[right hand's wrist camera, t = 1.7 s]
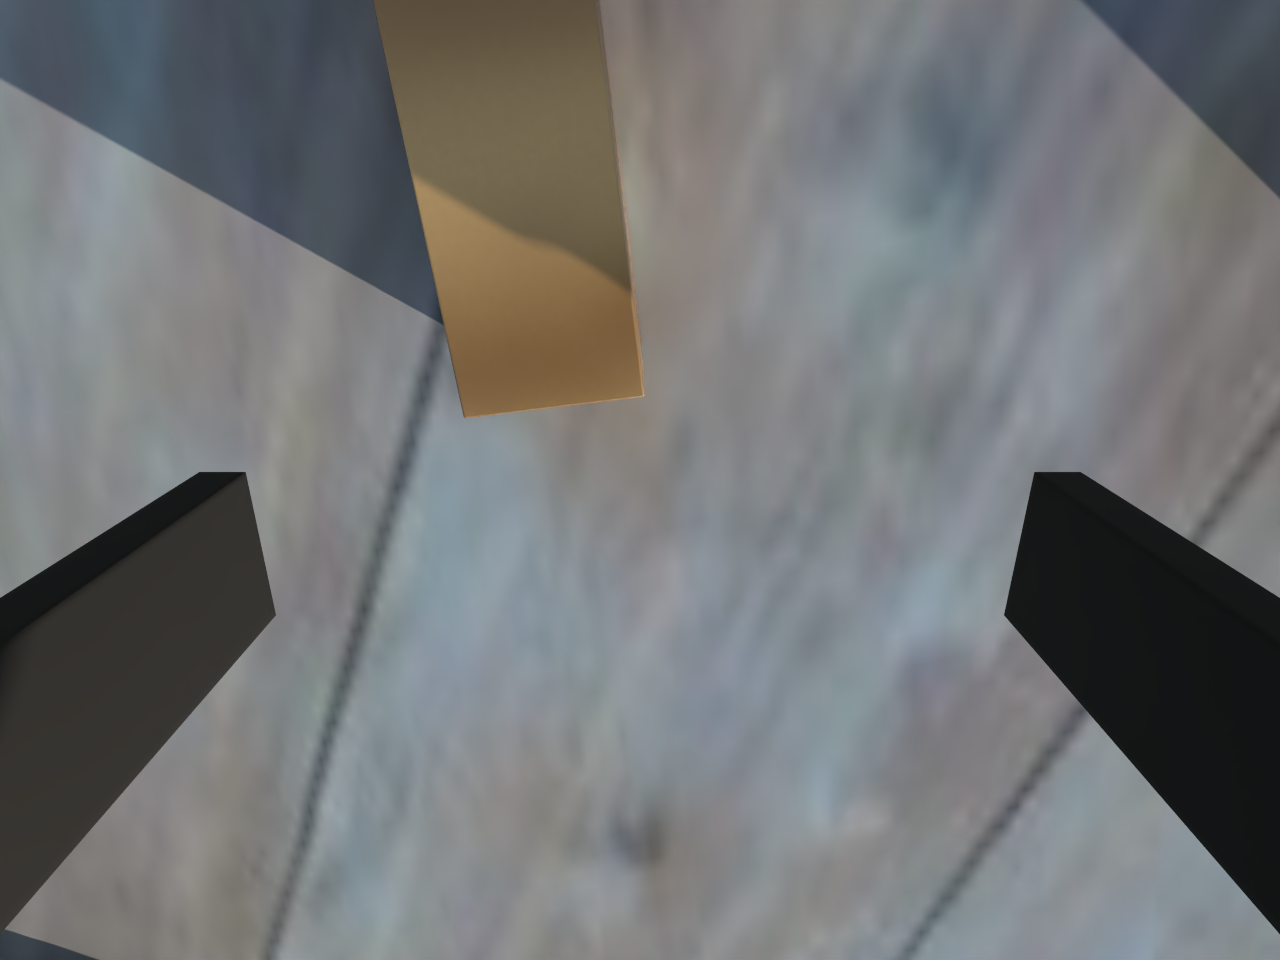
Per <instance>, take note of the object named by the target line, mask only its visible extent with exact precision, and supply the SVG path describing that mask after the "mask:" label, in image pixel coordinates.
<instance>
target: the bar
mask: <svg viewBox="0 0 1280 960" xmlns="http://www.w3.org/2000/svg"><path fill="white" fill-rule="evenodd" d="M373 3H374V8H375V13H376V17H377V22H378V26H379V31H380V35H381V40H382V45H383V49H384V54H385V58H386V63H387V67H388V72H389V77H390V81H391V86H392V90H393V95H394V100H395V104H396V109H397V113H398V118H399V122H400V127H401V132H402V136H403V141H404V145H405V150H406V154H407V159H408V164H409V168H410V173H411V177H412V182H413V187H414V191H415V196H416V200H417V205H418V209H419V214H420V219H421V223H422V228H423V232H424V237H425V241H426V246H427V251H428V255H429V260H430V264H431V269H432V273H433V278H434V283H435V287H436V292H437V296H438V301H439V306H440V310H441V315H442V319H443V324H444V328H445V333H446V338H447V342H448V347H449V351H450V356H451V360H452V365H453V370H454V374H455V379H456V383H457V388H458V393H459V397H460V402H461V406H462V411H463V415H464V418H472V417H481V416H489V415H497V414H505V413H513V412H522V411H530V410H538V409H546V408H554V407H563V406H571V405H579V404H587V403H595V402H604V401H612V400H620V399H628V398H636V397H643V396H644V378H643V359H642V342H641V334H640V326H639V318H638V310H637V301H636V293H635V285H634V277H633V269H632V261H631V252H630V244H629V236H628V228H627V220H626V212H625V203H624V195H623V187H622V179H621V171H620V163H619V154H618V146H617V138H616V130H615V122H614V113H613V105H612V97H611V89H610V81H609V73H608V64H607V56H606V48H605V40H604V32H603V24H602V15H601V7H600V0H373Z"/></svg>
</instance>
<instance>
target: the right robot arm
mask: <svg viewBox="0 0 1280 960" xmlns="http://www.w3.org/2000/svg"><path fill="white" fill-rule="evenodd" d="M275 616H276V614H275V609H274V604H273V599H272V595H271V590H270V585H269V581H268V576H267V571H266V566H265V562H264V557H263V552H262V548H261V543H260V538H259V533H258V529H257V524H256V519H255V515H254V510H253V505H252V500H251V496H250V491H249V486H248V482H247V477H246V472H199V473H197V474H196V475H194V476H193V477H191V478H189V479H188V480H186V481H185V482H183V483H181V484H180V485H178V486H177V487H175V488H174V489H172V490H170V491H169V492H167V493H166V494H164V495H162V496H161V497H159V498H158V499H156V500H155V501H153V502H151V503H150V504H148V505H147V506H145V507H143V508H142V509H140V510H139V511H137V512H136V513H134V514H132V515H131V516H129V517H128V518H126V519H124V520H123V521H121V522H120V523H118V524H117V525H115V526H113V527H112V528H110V529H109V530H107V531H105V532H104V533H102V534H101V535H99V536H98V537H96V538H94V539H93V540H91V541H90V542H88V543H87V544H85V545H83V546H82V547H80V548H79V549H77V550H75V551H74V552H72V553H71V554H69V555H68V556H66V557H64V558H63V559H61V560H60V561H58V562H56V563H55V564H53V565H52V566H50V567H49V568H47V569H45V570H44V571H42V572H41V573H39V574H37V575H36V576H34V577H33V578H31V579H30V580H28V581H26V582H25V583H23V584H22V585H20V586H18V587H17V588H15V589H14V590H12V591H11V592H9V593H7V594H6V595H4V596H3V597H1V598H0V934H1V933H2V931H3V930H4V929H5V928H6V927H7V926H8V924H9V923H10V922H11V921H12V920H13V919H14V917H15V916H16V915H17V914H18V913H19V912H20V911H21V909H22V908H23V907H24V906H25V905H26V904H27V902H28V901H29V900H30V899H31V898H32V897H33V895H34V894H35V893H36V892H37V891H38V890H39V889H40V887H41V886H42V885H43V884H44V883H45V882H46V880H47V879H48V878H49V877H50V876H51V875H52V874H53V872H54V871H55V870H56V869H57V868H58V867H59V865H60V864H61V863H62V862H63V861H64V860H65V858H66V857H67V856H68V855H69V854H70V853H71V852H72V850H73V849H74V848H75V847H76V846H77V845H78V843H79V842H80V841H81V840H82V839H83V838H84V836H85V835H86V834H87V833H88V832H89V831H90V830H91V828H92V827H93V826H94V825H95V824H96V823H97V821H98V820H99V819H100V818H101V817H102V816H103V815H104V813H105V812H106V811H107V810H108V809H109V808H110V806H111V805H112V804H113V803H114V802H115V801H116V799H117V798H118V797H119V796H120V795H121V794H122V793H123V791H124V790H125V789H126V788H127V787H128V786H129V784H130V783H131V782H132V781H133V780H134V779H135V777H136V776H137V775H138V774H139V773H140V772H141V771H142V769H143V768H144V767H145V766H146V765H147V764H148V762H149V761H150V760H151V759H152V758H153V757H154V755H155V754H156V753H157V752H158V751H159V750H160V749H161V747H162V746H163V745H164V744H165V743H166V742H167V740H168V739H169V738H170V737H171V736H172V735H173V734H174V732H175V731H176V730H177V729H178V728H179V727H180V725H181V724H182V723H183V722H184V721H185V720H186V718H187V717H188V716H189V715H190V714H191V713H192V712H193V710H194V709H195V708H196V707H197V706H198V705H199V703H200V702H201V701H202V700H203V699H204V698H205V696H206V695H207V694H208V693H209V692H210V691H211V690H212V688H213V687H214V686H215V685H216V684H217V683H218V681H219V680H220V679H221V678H222V677H223V676H224V675H225V673H226V672H227V671H228V670H229V669H230V668H231V666H232V665H233V664H234V663H235V662H236V661H237V659H238V658H239V657H240V656H241V655H242V654H243V653H244V651H245V650H246V649H247V648H248V647H249V646H250V644H251V643H252V642H253V641H254V640H255V639H256V637H257V636H258V635H259V634H260V633H261V632H262V631H263V629H264V628H265V627H266V626H267V625H268V624H269V622H270V621H271V620H272V619H273V618H274V617H275ZM1004 616H1005V617H1006V618H1007V619H1008V620H1009V621H1010V622H1011V624H1012V625H1013V626H1014V627H1015V628H1016V629H1017V631H1018V632H1019V633H1020V634H1021V635H1022V636H1023V637H1024V639H1025V640H1026V641H1027V642H1028V643H1029V644H1030V646H1031V647H1032V648H1033V649H1034V650H1035V651H1036V653H1037V654H1038V655H1039V656H1040V657H1041V658H1042V659H1043V661H1044V662H1045V663H1046V664H1047V665H1048V666H1049V668H1050V669H1051V670H1052V671H1053V672H1054V673H1055V675H1056V676H1057V677H1058V678H1059V679H1060V680H1061V681H1062V683H1063V684H1064V685H1065V686H1066V687H1067V688H1068V690H1069V691H1070V692H1071V693H1072V694H1073V695H1074V696H1075V698H1076V699H1077V700H1078V701H1079V702H1080V703H1081V705H1082V706H1083V707H1084V708H1085V709H1086V710H1087V712H1088V713H1089V714H1090V715H1091V716H1092V717H1093V718H1094V720H1095V721H1096V722H1097V723H1098V724H1099V725H1100V727H1101V728H1102V729H1103V730H1104V731H1105V732H1106V734H1107V735H1108V736H1109V737H1110V738H1111V739H1112V740H1113V742H1114V743H1115V744H1116V745H1117V746H1118V747H1119V749H1120V750H1121V751H1122V752H1123V753H1124V754H1125V755H1126V757H1127V758H1128V759H1129V760H1130V761H1131V762H1132V764H1133V765H1134V766H1135V767H1136V768H1137V769H1138V771H1139V772H1140V773H1141V774H1142V775H1143V776H1144V777H1145V779H1146V780H1147V781H1148V782H1149V783H1150V784H1151V786H1152V787H1153V788H1154V789H1155V790H1156V791H1157V793H1158V794H1159V795H1160V796H1161V797H1162V798H1163V799H1164V801H1165V802H1166V803H1167V804H1168V805H1169V806H1170V808H1171V809H1172V810H1173V811H1174V812H1175V813H1176V815H1177V816H1178V817H1179V818H1180V819H1181V820H1182V821H1183V823H1184V824H1185V825H1186V826H1187V827H1188V828H1189V830H1190V831H1191V832H1192V833H1193V834H1194V835H1195V836H1196V838H1197V839H1198V840H1199V841H1200V842H1201V843H1202V845H1203V846H1204V847H1205V848H1206V849H1207V850H1208V852H1209V853H1210V854H1211V855H1212V856H1213V857H1214V858H1215V860H1216V861H1217V862H1218V863H1219V864H1220V865H1221V867H1222V868H1223V869H1224V870H1225V871H1226V872H1227V874H1228V875H1229V876H1230V877H1231V878H1232V879H1233V880H1234V882H1235V883H1236V884H1237V885H1238V886H1239V887H1240V889H1241V890H1242V891H1243V892H1244V893H1245V894H1246V895H1247V897H1248V898H1249V899H1250V900H1251V901H1252V902H1253V904H1254V905H1255V906H1256V907H1257V908H1258V909H1259V911H1260V912H1261V913H1262V914H1263V915H1264V916H1265V917H1266V919H1267V920H1268V921H1269V922H1270V923H1271V924H1272V926H1273V927H1274V928H1275V929H1276V930H1277V931H1278V933H1279V934H1280V598H1279V597H1277V596H1276V595H1274V594H1273V593H1271V592H1269V591H1268V590H1266V589H1265V588H1263V587H1262V586H1260V585H1258V584H1257V583H1255V582H1254V581H1252V580H1250V579H1249V578H1247V577H1246V576H1244V575H1243V574H1241V573H1239V572H1238V571H1236V570H1235V569H1233V568H1231V567H1230V566H1228V565H1227V564H1225V563H1224V562H1222V561H1220V560H1219V559H1217V558H1216V557H1214V556H1212V555H1211V554H1209V553H1208V552H1206V551H1205V550H1203V549H1201V548H1200V547H1198V546H1197V545H1195V544H1193V543H1192V542H1190V541H1189V540H1187V539H1186V538H1184V537H1182V536H1181V535H1179V534H1178V533H1176V532H1175V531H1173V530H1171V529H1170V528H1168V527H1167V526H1165V525H1163V524H1162V523H1160V522H1159V521H1157V520H1156V519H1154V518H1152V517H1151V516H1149V515H1148V514H1146V513H1144V512H1143V511H1141V510H1140V509H1138V508H1137V507H1135V506H1133V505H1132V504H1130V503H1129V502H1127V501H1125V500H1124V499H1122V498H1121V497H1119V496H1118V495H1116V494H1114V493H1113V492H1111V491H1110V490H1108V489H1106V488H1105V487H1103V486H1102V485H1100V484H1099V483H1097V482H1095V481H1094V480H1092V479H1091V478H1089V477H1087V476H1086V475H1084V474H1083V473H1081V472H1034V477H1033V482H1032V486H1031V491H1030V496H1029V500H1028V505H1027V510H1026V515H1025V519H1024V524H1023V529H1022V533H1021V538H1020V543H1019V548H1018V552H1017V557H1016V562H1015V566H1014V571H1013V576H1012V581H1011V585H1010V590H1009V595H1008V599H1007V604H1006V609H1005V614H1004Z"/></svg>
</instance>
